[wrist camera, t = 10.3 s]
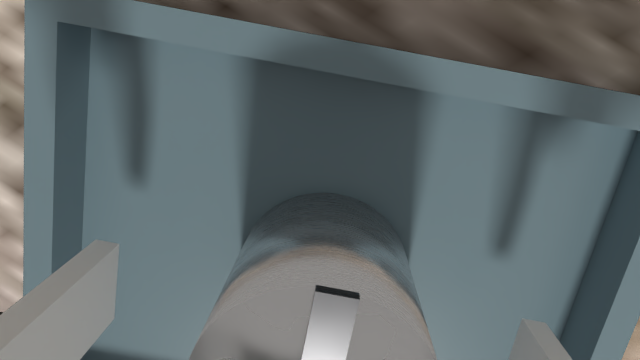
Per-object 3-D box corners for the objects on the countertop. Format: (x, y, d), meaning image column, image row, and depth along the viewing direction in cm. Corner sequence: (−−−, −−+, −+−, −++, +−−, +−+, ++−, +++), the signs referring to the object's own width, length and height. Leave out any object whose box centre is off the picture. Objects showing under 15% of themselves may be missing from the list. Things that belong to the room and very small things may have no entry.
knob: (230, 327, 19) (167, 490, 12) (253, 178, 17) (194, 268, 11) (386, 357, 19) (411, 534, 12) (425, 210, 18) (479, 322, 11)
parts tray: (60, 390, 21) (22, 437, 19) (73, -11, 17) (24, -20, 14) (523, 479, 21) (546, 536, 19) (668, 101, 17) (725, 111, 14)
